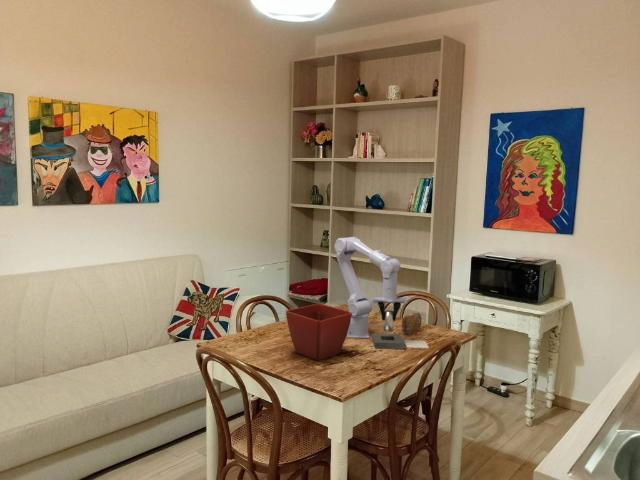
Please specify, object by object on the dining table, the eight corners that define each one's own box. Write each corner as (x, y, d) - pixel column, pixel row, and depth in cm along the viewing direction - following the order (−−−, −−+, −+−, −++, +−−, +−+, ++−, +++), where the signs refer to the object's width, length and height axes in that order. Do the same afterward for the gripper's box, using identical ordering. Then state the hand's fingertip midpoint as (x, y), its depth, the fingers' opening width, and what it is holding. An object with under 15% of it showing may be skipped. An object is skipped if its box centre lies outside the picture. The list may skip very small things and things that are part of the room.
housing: (374, 348, 210) (374, 342, 210) (371, 339, 222) (372, 333, 222) (404, 349, 210) (404, 343, 210) (399, 339, 222) (399, 334, 222)
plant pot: (352, 353, 203) (353, 312, 201) (318, 365, 190) (319, 321, 188) (318, 342, 217) (318, 303, 215) (284, 352, 203) (284, 310, 201)
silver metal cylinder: (384, 331, 213) (384, 311, 213) (382, 329, 217) (383, 309, 217) (393, 331, 213) (394, 311, 213) (392, 329, 217) (392, 309, 217)
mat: (407, 348, 212) (407, 347, 212) (403, 341, 221) (403, 340, 221) (429, 348, 212) (429, 347, 212) (424, 341, 221) (424, 340, 221)
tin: (406, 336, 227) (407, 318, 226) (400, 335, 229) (400, 316, 228) (421, 329, 239) (422, 311, 238) (415, 327, 241) (416, 310, 240)
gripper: (373, 289, 209) (372, 322, 211) (408, 290, 209) (407, 323, 211) (371, 286, 216) (370, 317, 218) (406, 286, 216) (404, 318, 218)
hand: (388, 319), depth 215 cm, fingers closed on silver metal cylinder, 4 cm apart
